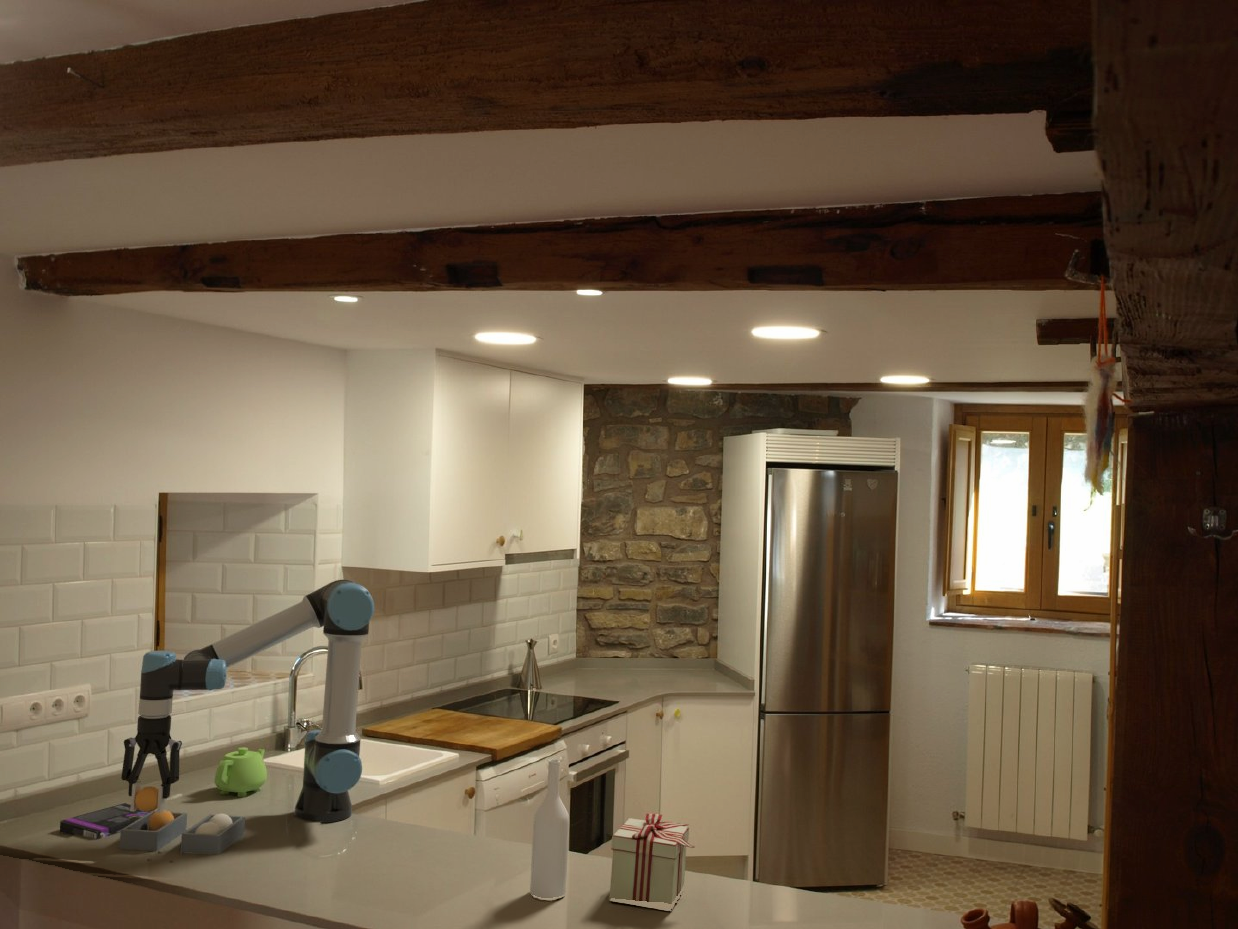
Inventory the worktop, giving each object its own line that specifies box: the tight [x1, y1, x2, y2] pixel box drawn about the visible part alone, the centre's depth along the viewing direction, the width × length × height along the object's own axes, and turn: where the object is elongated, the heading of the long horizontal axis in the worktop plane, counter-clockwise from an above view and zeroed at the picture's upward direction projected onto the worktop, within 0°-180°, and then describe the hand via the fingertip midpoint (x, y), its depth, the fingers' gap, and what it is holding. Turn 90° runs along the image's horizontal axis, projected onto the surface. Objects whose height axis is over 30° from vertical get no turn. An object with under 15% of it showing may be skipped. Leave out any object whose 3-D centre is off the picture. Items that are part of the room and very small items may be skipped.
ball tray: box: [119, 810, 246, 863], centre depth 255 cm, size 26×22×5 cm
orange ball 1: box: [135, 786, 159, 812], centre depth 255 cm, size 6×6×6 cm
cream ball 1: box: [195, 822, 221, 835], centre depth 254 cm, size 6×6×6 cm
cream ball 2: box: [209, 813, 233, 832], centre depth 261 cm, size 6×6×6 cm
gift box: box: [609, 813, 696, 904], centre depth 238 cm, size 17×18×17 cm
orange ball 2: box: [148, 809, 174, 831], centre depth 262 cm, size 6×6×6 cm
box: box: [59, 802, 150, 840], centre depth 268 cm, size 14×4×20 cm
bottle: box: [529, 759, 570, 898], centre depth 237 cm, size 8×8×30 cm
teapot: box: [214, 746, 268, 798], centre depth 304 cm, size 20×13×13 cm
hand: (147, 810), depth 255 cm, fingers closed on orange ball 1, 6 cm apart
